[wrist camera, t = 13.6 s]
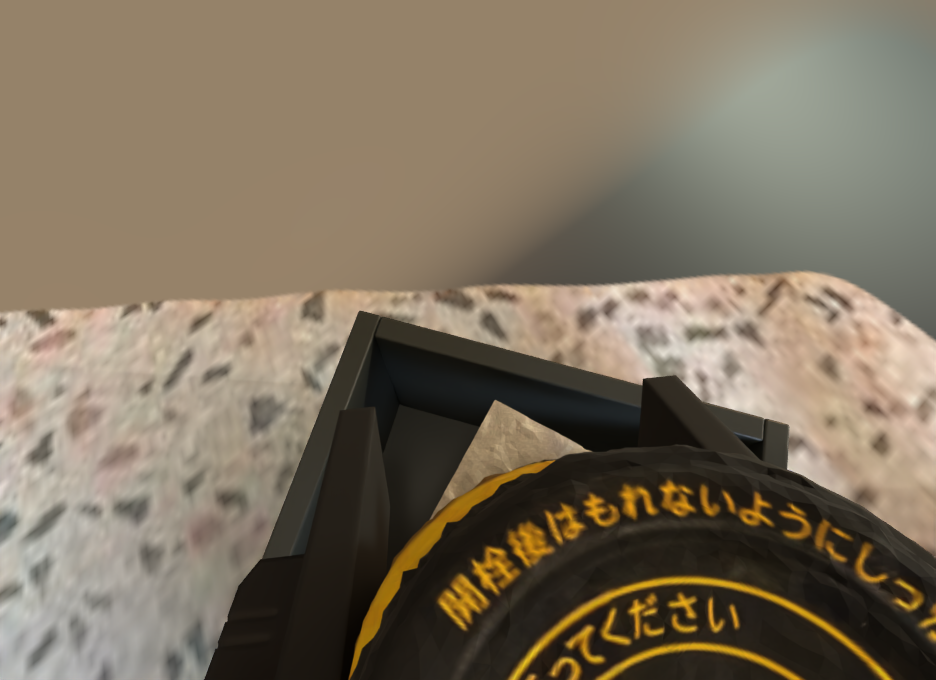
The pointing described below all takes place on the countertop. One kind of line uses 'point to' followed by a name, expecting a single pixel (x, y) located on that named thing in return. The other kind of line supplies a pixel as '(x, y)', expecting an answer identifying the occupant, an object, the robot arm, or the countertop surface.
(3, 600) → the countertop surface
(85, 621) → the countertop surface
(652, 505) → the condiment
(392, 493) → the waste bin
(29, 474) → the countertop surface
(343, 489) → the robot arm
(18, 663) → the countertop surface
